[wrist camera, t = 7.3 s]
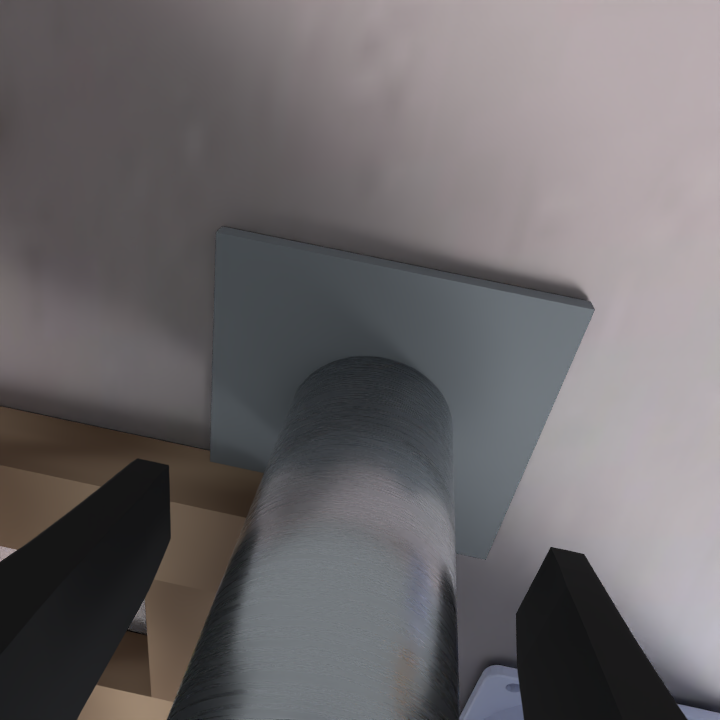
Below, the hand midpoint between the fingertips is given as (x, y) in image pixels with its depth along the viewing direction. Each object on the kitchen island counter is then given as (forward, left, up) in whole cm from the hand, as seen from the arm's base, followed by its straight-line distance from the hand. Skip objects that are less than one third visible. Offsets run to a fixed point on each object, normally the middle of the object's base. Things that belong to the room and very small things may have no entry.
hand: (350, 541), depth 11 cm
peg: (0, 0, -4) cm, 4 cm away
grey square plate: (0, 0, -4) cm, 4 cm away
